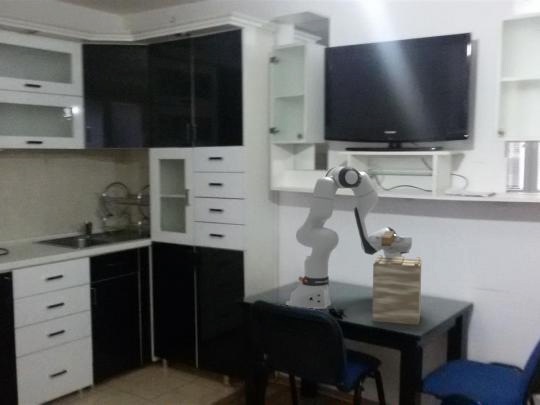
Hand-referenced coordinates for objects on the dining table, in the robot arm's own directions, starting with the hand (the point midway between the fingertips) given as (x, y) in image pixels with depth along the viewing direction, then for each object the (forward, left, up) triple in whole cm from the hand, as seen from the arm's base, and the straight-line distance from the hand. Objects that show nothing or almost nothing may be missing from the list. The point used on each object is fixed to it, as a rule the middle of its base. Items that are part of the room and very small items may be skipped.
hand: (389, 235), depth 265 cm
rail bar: (-4, -4, -2) cm, 6 cm away
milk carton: (-15, +51, -36) cm, 64 cm away
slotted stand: (-4, -12, -36) cm, 38 cm away
